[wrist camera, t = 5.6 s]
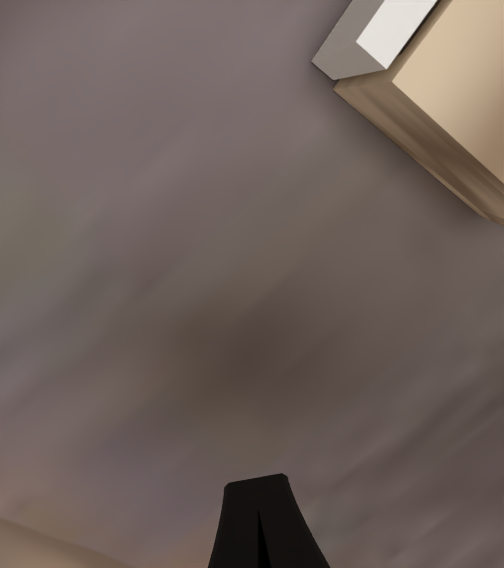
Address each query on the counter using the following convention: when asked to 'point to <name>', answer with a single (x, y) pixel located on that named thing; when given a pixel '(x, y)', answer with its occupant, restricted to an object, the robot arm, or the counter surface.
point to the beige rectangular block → (446, 100)
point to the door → (369, 36)
